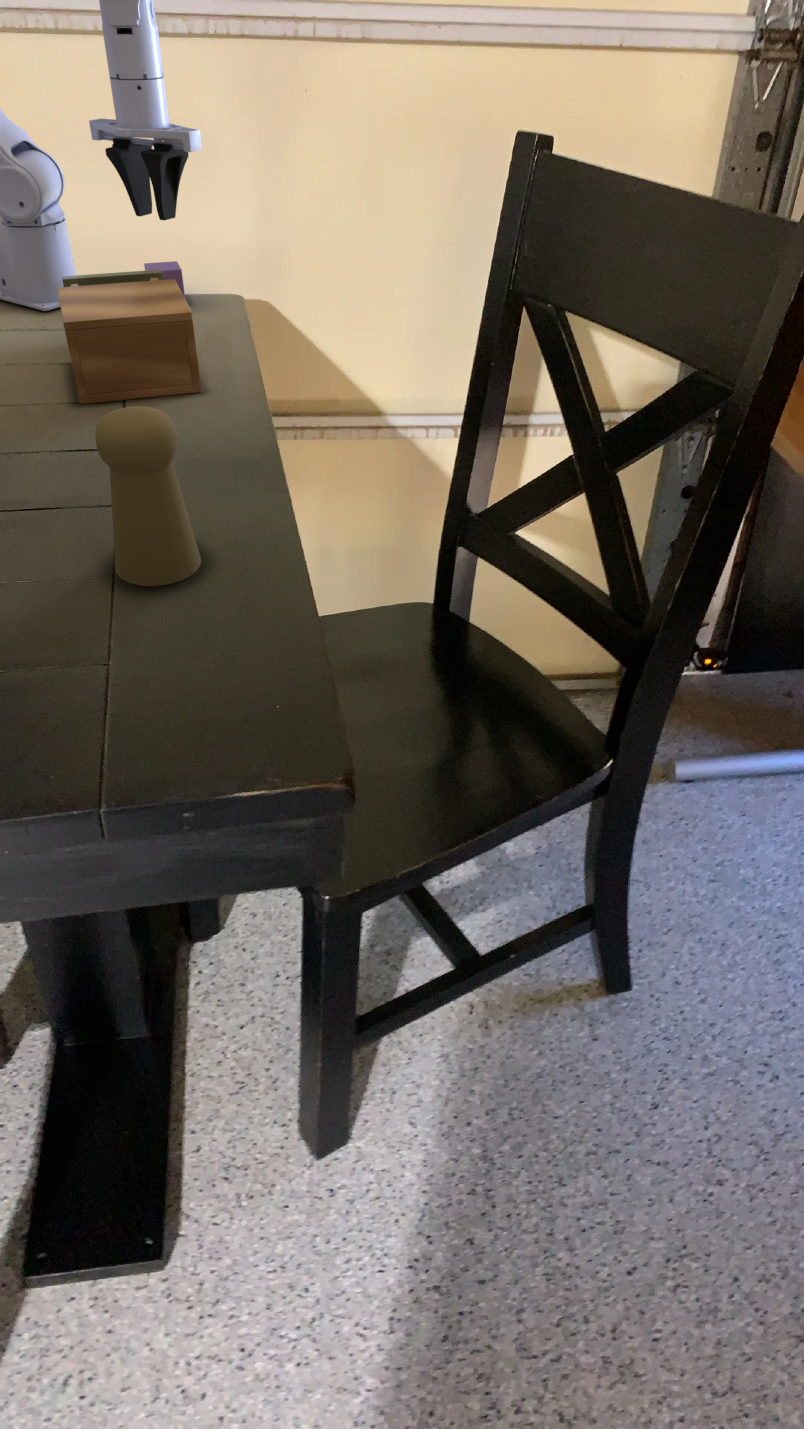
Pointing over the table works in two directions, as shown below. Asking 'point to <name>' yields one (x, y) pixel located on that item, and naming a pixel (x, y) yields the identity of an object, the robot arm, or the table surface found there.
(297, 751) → the table surface
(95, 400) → the cabinet
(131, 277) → the drawer
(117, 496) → the tan pawn
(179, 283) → the block
